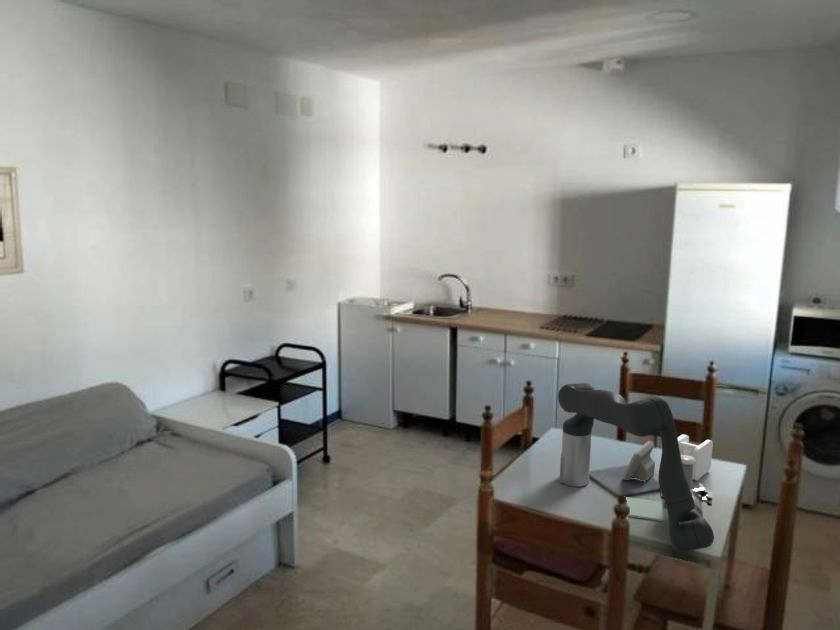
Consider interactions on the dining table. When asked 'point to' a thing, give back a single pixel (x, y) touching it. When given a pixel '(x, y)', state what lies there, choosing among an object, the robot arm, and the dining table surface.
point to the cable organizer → (697, 455)
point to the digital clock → (641, 463)
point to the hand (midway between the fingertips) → (684, 484)
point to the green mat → (645, 509)
